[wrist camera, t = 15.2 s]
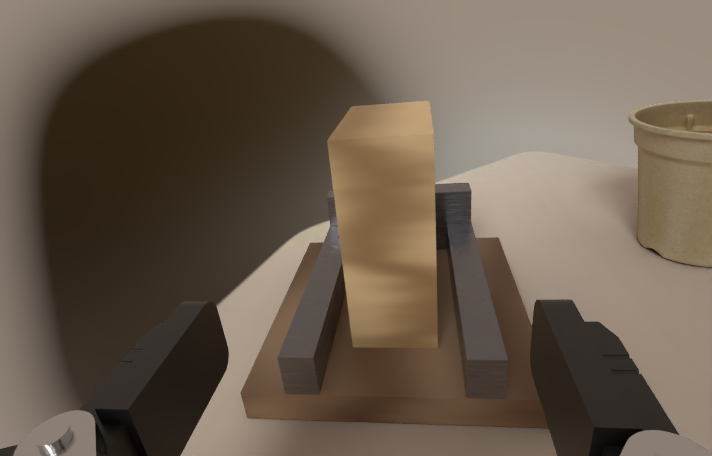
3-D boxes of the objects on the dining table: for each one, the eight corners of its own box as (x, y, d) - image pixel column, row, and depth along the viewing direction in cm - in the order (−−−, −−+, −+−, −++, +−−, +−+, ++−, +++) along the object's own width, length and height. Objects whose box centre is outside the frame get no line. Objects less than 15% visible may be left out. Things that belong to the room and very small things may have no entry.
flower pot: (644, 285, 26) (676, 139, 22) (589, 218, 34) (606, 105, 30) (830, 284, 24) (897, 127, 21) (725, 214, 33) (759, 95, 29)
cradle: (497, 256, 30) (500, 181, 28) (555, 428, 18) (570, 316, 15) (313, 261, 32) (302, 190, 30) (247, 418, 20) (219, 317, 17)
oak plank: (433, 269, 27) (429, 100, 22) (438, 348, 20) (433, 133, 16) (367, 270, 27) (351, 106, 23) (352, 347, 21) (327, 140, 17)
